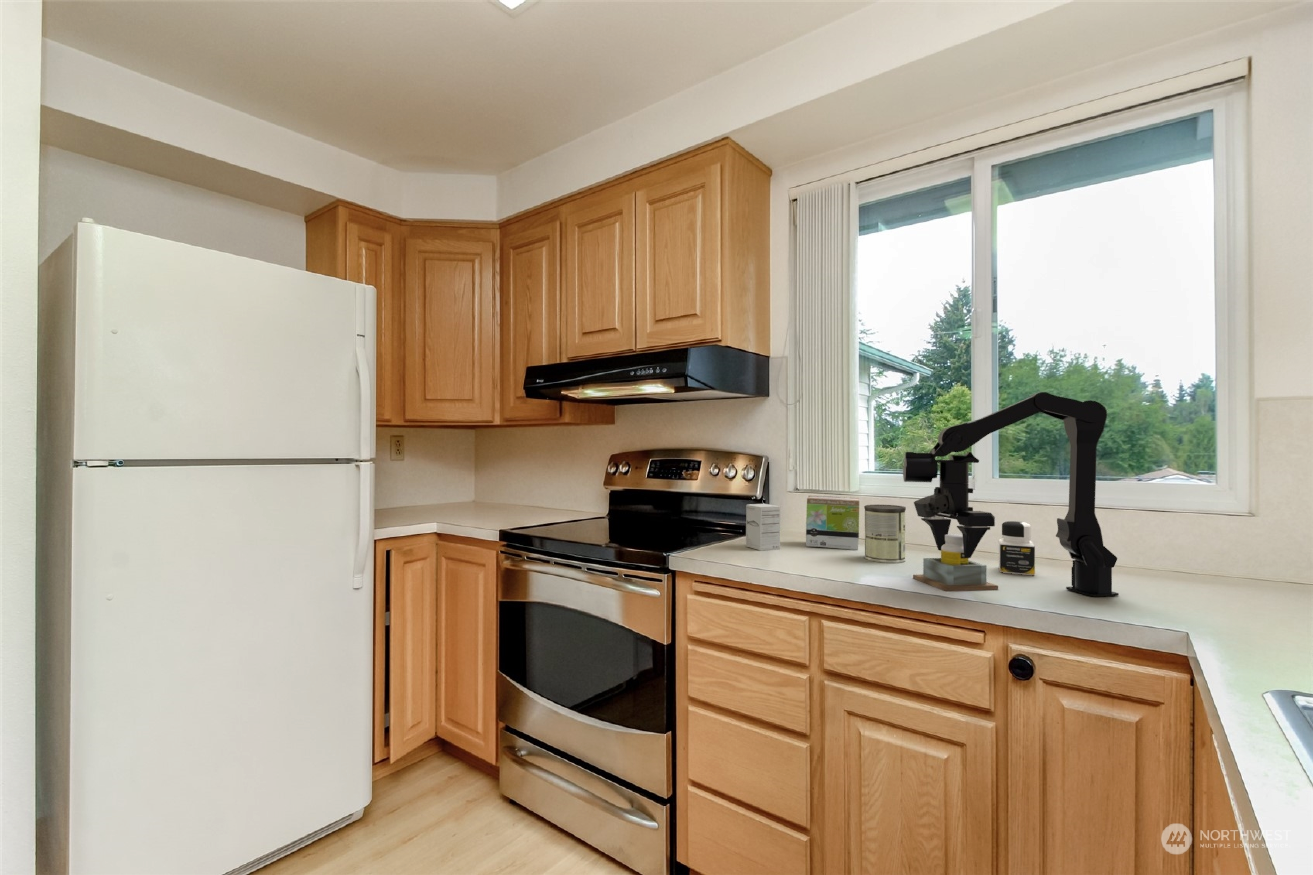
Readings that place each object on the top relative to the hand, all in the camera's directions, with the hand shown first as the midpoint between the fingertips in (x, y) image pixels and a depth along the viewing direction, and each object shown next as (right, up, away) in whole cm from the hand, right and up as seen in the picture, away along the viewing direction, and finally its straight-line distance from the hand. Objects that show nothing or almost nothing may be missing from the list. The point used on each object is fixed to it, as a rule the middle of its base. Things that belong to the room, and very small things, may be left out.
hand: (953, 554), depth 131 cm
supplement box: (-34, -7, +43) cm, 56 cm away
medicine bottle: (+22, -7, +13) cm, 26 cm away
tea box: (-13, -7, +48) cm, 50 cm away
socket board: (0, -7, 0) cm, 7 cm away
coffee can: (-5, -7, +28) cm, 29 cm away
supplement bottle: (0, -6, 0) cm, 6 cm away
